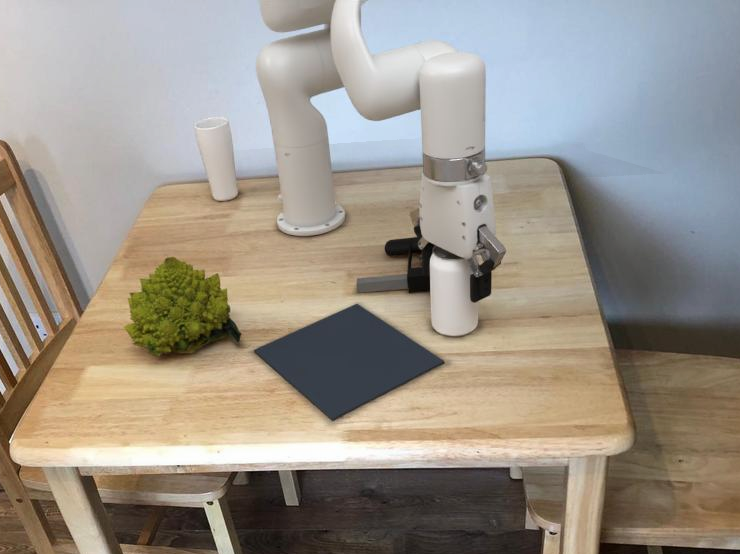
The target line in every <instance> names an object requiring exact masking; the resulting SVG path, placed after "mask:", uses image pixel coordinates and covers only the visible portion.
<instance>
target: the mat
mask: <svg viewBox="0 0 740 554" xmlns="http://www.w3.org/2000/svg"><path fill="white" fill-rule="evenodd" d="M253 352H254V353H255V354H256V355H257V356H258V357H259V358H260V359H261V360H263V361H264V362H265V363H266V364H267V365H268V366H269V367H270V368H272V370H274V371H275V372H276V373H277V374H278V375H280V376H281V377H282V378H283V379H284V380H285V381H286V382H288V383H289V384H290V385H291V386H292V387H293V388H294V389H295V390H297V391H298V392H299V393H300V394H301V395H302V396H303V397H305V398H306V399H307V400H308V402H310V403H311V404H313V406H314V407H316V408H317V409H318V410H319V411H320V412H322V413H323V415H325V417H327V418H328V419H330V421H332V422H333V421H336V420H337V419H339V418H341V417H343V416H345V415H347V414H349V413H351V412H353V411H355V410H357V409H358V408H360V407H363V406H364V405H366V404H368V403H371V402H372V401H374V400H376V399H378V398H380V397H382V396H384V395H386V394H387V393H389V392H391V391H394V390H395V389H397V388H399V387H401V386H404V385H405V384H407V383H409V382H411V381H413V380H415V379H416V378H419V377H421V376H423V375H425V374H427V373H429V372H430V371H432V370H435V369H436V368H438V367H440V366H442V365H444V364H445V360H444V359H443V358H441V357H439V356H438V355H436V354H434V353H433V352H432V351H430V350H429V349H427V348H425V347H424V346H422V345H421V344H420V343H418V342H416V341H415V340H413V339H411V337H408V336H407V335H405V334H404V333H402V332H401V331H400V330H398V329H396V328H395V327H393V326H392V325H391V324H389V323H387V322H386V321H384V320H383V319H381V318H380V317H378V316H377V315H375V314H373V313H372V312H370V311H369V310H367V308H365V307H363V306H361V305H360V304H358V303H355V304H353V305H350V306H349V307H346V308H344V309H342V310H340V311H337V312H335V313H333V314H330V315H328V316H326V317H324V318H321V319H319V320H318V321H315V322H312V323H311V324H308V325H306V326H304V327H302V328H299V329H297V330H295V331H292V332H290V333H289V334H286V335H284V336H281V337H279V338H278V339H275V340H272V341H270V342H269V343H266V344H264V345H262V346H259V347H257V348H255V349H253Z"/></svg>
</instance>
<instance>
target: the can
mask: <svg viewBox="0 0 740 554" xmlns="http://www.w3.org/2000/svg"><path fill="white" fill-rule="evenodd" d="M475 250H477V248H476V247H475ZM475 250H473V251H475ZM475 257H476V259H477V261H478V263H479V264H480V262H479V255H477V256H475ZM472 274H474V273H473V271H472V269H471V267H470V265H469V263H468V261H467V259H465V258H462V257H460V256H457V255H455V254H453V253H451V252H449V251H447V250H444V249H442V248H440V247H438V246H436V245H435V246H434V247H433V254H432V256H431V258H430V291H429V292H430V320H431V327H432V328H433V329H434V331H436V333H438V334H440V335H442V336H446V337H451V338H458V337H463V336H466V335H469V334H471V333H473V331H474V330H475V329H476V328H477V327H478V325H479V301H478V302H476V303H473V302H472V301H471V300H470V275H472Z"/></svg>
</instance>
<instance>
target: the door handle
mask: <svg viewBox="0 0 740 554" xmlns="http://www.w3.org/2000/svg"><path fill="white" fill-rule="evenodd" d="M418 242H419V240H418V238H417V236H413V237H405V238H404V237H403V238H395V239H394V238H393V239H389V240H387V241H386V242H385V244H384V252H385V254H386V255H387V256H388V257H399V256H407V257H408V258H407V269H406V270H407V271H406V273H400V274H388V275H377V276H376V275H375V276H368V277H367V276H365V277H357V278H356V283H355V284H356V290H357V293H358V294H359V293H361V294H362V293H369V292H370V293H371V292H382V291H393V290H404V289H405V290H406V289H408V294H415V293H426V292H430V276H428V277H425V276H423V275H422V266H415V267H412V265H413V264H412V263H413V255H418V259H419V260H420V261H422V255H421V251H422V250H423V249H422V250H421V249H420V248H419V246H418Z"/></svg>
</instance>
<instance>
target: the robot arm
mask: <svg viewBox="0 0 740 554" xmlns="http://www.w3.org/2000/svg"><path fill="white" fill-rule="evenodd" d="M367 1H368V0H258V3H259V9H260V13H261V18H262V21H263V23H264V25H265V26H266V27H267V29H269V30H270V31H271V32H274V33H281V34H283V33H291V32H296V31H300V30H305V29H309V28H313V27H318V26H321V25H323V28H321V29H318V30H314V31H310V32H306V33H300V34H296V35H292V36H288V37H284V38H280V39H277V40H274V41H272V42H270V43H269V44H267V45H265V46H264V47H262V49H260V51H259V53H258V54H257V57H256V60H255V72H256V77H257V80H258V82H259V87H260V89H261V92H262V96H263V99H264V103H265V107H266V110H267V114H268V120H269V125H270V130H271V137H272V142H273V149H274V155H275V162H276V169H277V175H278V181H279V183H278V184H279V189H280V193H279V194H278V196H277V198H278V200H279V201H281V202H282V208H283V209H282V210H283V211H281V212H280V213H279V215H277V218H276V224H277V228H278V230H279V231H281V232H283V233H284V234H287V235H290V236H295V237H311V236H312V237H313V236H318V235H322V234H327V233H329V232H332V231H334V230H336V229H337V228H339V227H340V226H341V225H343V223H344V222H345V221H346V210H345V209H344V207H342V206H341V205H339V204H338V203H336V197H335V186H334V178H333V177H334V176H333V169H332V167H333V166H332V159H331V151H330V150H331V149H330V140H329V131H328V125H327V121H326V119H325V117H324V115H323V114H322V113H321V111H319V109H317V108H316V107H315V106H314V105H313V103H312V102H311V99H313V98H314V97H317V96H320V95H322V94H324V93H325V94H327V93H329V92H332V91H337V90H340V89H343V88H344V90H345V91H346V95H347V97H348V98H349V100H350V102H351V104H352V106H353V108H354V110H356V112H357V113H358V114H359V115H360V116H361V117H362V118H363V119H365V120H368V121H370V122H371V121H372V122H380V121H385V120H388V119H389V120H390V119H392V118H396V117H400V116H402V115H405V114H409V113H413V112H415V111H416V112H417V111H420V128H421V150H422V151H421V152H422V173H421V179H420V190H419V207H418V208H416V209H414V210H411V211H410V212H409V217H410V219H411V222H412V226H414V227H413V232H414V235H415V237H417V238H418V240H419V242H418V246H419V248H420V249H421V250H422V249H423V250H422V251H421V254H420V255H422V259H421V267H422V275H423V276H425V277H428V276H430V258H431V256H432V254H433V247H434V246H435V245H436V246H438V247H440V248H442V249H444V250H447V251H449V252H451V253H453V254H455V255H457V256H460V257H462V258H465V259H467V261H468V263H469V265H470V267H471V269H472V271H473V273H474V274H472V275H470V300H471V301H472V302H473V303H476V302H478V303H479V302H480V301H482V300H484V299H486V298H488V297H490V296H491V295H492V280H493V279H492V278H493V277H492V276H493V275H492V273H493V272H492V271H495V270H496V268H497V267H499V266H500V265H501V264H502V260H503V259H504V257H505V256H506V253H507V249H506V248H507V247H505V246H504V245H503V243H502V242H501V241H500V240H499V239H498V238H497V236H496V214H495V202H494V194H493V189H492V184H491V180H490V176H489V175H488V174H486V173H487V170H488V165H487V164H486V99H487V98H486V95H487V94H486V91H487V90H486V87H487V85H486V83H487V82H486V80H487V79H486V78H487V77H486V76H487V74H486V65H485V62H484V61H483V59H482V58H481V57H480V56H479V55H477V54H475V53H470V52H463V51H459V50H457V49H456V48H455V47H454V46H452V45H451V44H449V43H447V42H446V41H443V40H441V39H431V40H430V39H429V40H425V41H422V42H417V43H415V44H411V45H406V46H402V47H401V46H400V47H398V48H393V49H390V50H386V51H382V52H378V53H375V54H372V53H371V51H370V49H369V46H368V45H367V42H366V39H365V37H364V35H363V31H362V6H363V5H364V4H365V3H366V2H367ZM476 247H477V248H476ZM475 248H476V250H475ZM473 250H475V251H473ZM477 255H478V256H480V257H481V259H482V263H481V264H480V262H479V263H478V261H477V259H476V257H475V256H477Z"/></svg>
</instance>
